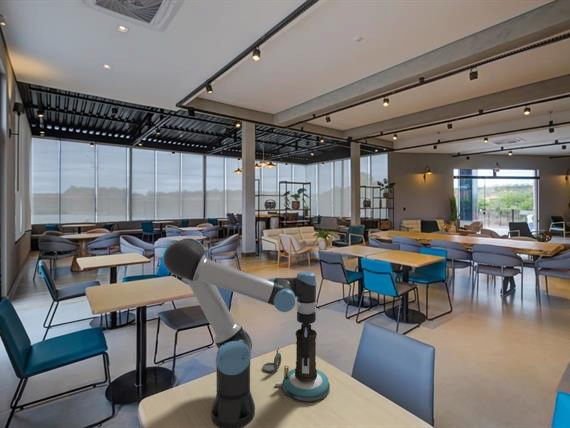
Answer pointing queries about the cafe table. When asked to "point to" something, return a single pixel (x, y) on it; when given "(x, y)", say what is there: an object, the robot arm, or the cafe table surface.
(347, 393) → the cafe table surface
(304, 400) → the turntable base
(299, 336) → the container
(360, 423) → the cafe table surface
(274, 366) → the pocket watch
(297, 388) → the turntable
